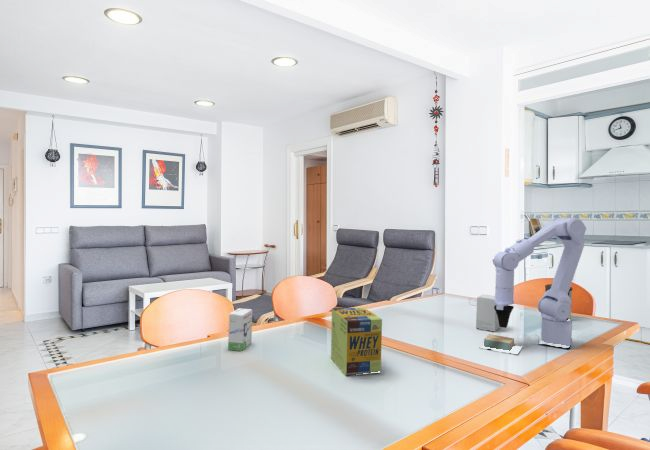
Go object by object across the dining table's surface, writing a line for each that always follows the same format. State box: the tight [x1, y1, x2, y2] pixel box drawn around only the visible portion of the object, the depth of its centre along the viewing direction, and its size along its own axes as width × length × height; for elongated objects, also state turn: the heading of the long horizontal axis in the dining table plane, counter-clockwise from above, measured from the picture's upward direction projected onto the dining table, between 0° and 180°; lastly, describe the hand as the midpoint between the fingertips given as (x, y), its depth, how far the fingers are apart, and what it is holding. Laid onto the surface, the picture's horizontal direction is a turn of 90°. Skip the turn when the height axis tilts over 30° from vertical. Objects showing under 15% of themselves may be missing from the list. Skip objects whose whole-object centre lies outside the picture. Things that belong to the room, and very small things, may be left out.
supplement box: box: [475, 294, 501, 332], centre depth 169 cm, size 7×7×13 cm
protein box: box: [330, 307, 383, 377], centre depth 127 cm, size 10×15×16 cm
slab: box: [483, 333, 515, 351], centre depth 145 cm, size 8×3×7 cm
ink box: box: [227, 307, 253, 352], centre depth 143 cm, size 9×5×12 cm, turn 168°
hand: (503, 327), depth 148 cm, fingers closed
